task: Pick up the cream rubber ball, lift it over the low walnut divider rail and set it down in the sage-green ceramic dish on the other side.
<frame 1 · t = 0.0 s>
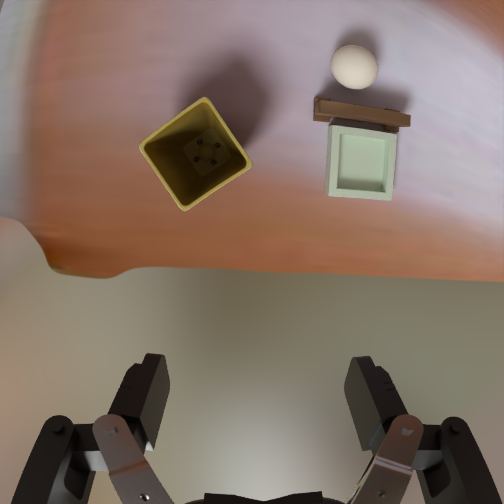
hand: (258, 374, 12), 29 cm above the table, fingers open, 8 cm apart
dish: (358, 162, 37), on the table
ball: (347, 71, 32), on the table
flower pot: (206, 151, 37), on the table
rail: (357, 115, 35), on the table
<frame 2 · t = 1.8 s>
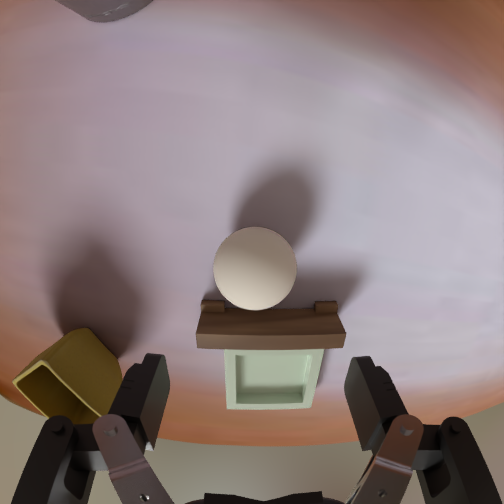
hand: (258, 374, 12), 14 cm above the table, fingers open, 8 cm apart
dish: (270, 367, 29), on the table
ball: (254, 253, 24), on the table
flower pot: (91, 348, 29), on the table
rail: (269, 315, 27), on the table
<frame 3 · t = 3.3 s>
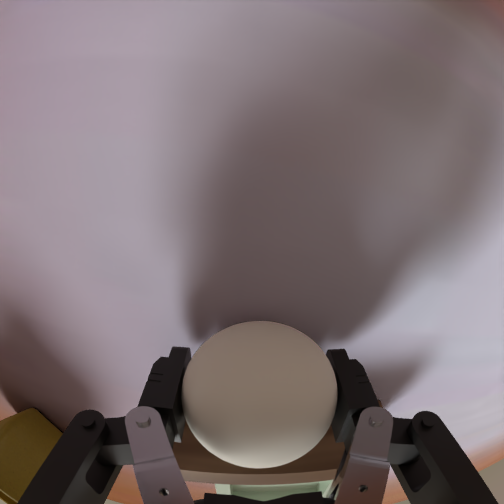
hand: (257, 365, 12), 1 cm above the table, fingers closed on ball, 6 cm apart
dish: (278, 469, 18), on the table
ball: (257, 348, 13), on the table, touching gripper
flower pot: (45, 426, 18), on the table
rail: (279, 423, 16), on the table
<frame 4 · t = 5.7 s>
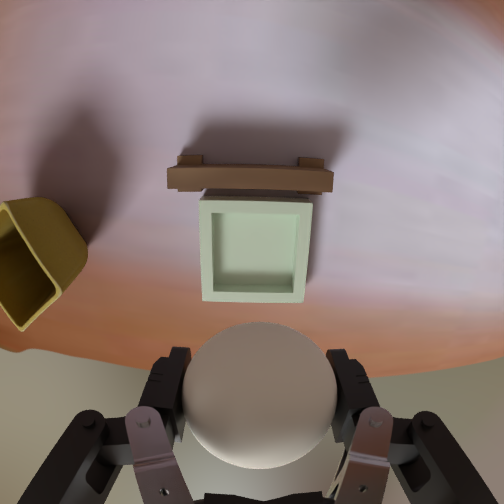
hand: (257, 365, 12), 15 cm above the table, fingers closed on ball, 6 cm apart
dish: (254, 246, 27), on the table
ball: (257, 349, 13), point 14 cm above the table, touching gripper
flower pot: (62, 237, 27), on the table
rail: (250, 172, 24), on the table
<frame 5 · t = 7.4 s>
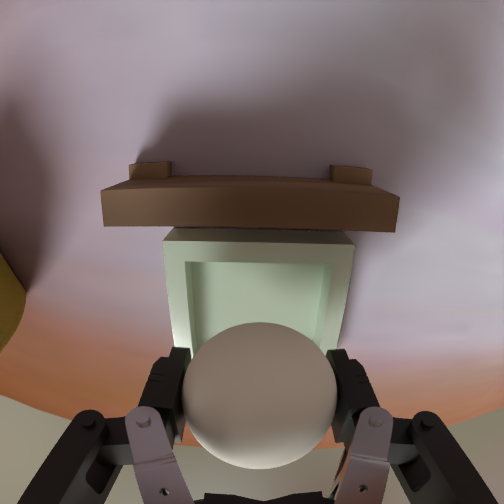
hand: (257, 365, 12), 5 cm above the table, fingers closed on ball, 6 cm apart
dish: (256, 304, 17), on the table
ball: (257, 349, 13), point 4 cm above the table, touching gripper
flower pot: (0, 278, 17), on the table
rail: (250, 190, 15), on the table
when the fingers open (3 cm above the table, at t = 8.4 s): ball drops 2 cm, resting on dish.
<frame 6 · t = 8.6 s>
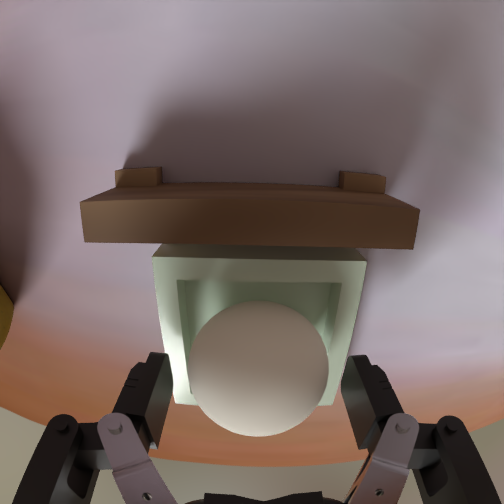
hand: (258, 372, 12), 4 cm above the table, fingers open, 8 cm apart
dish: (256, 323, 16), on the table
ball: (256, 329, 15), point 1 cm above the table, touching dish
rail: (249, 199, 13), on the table
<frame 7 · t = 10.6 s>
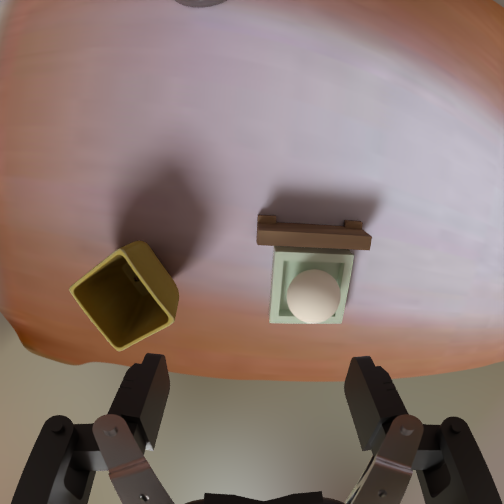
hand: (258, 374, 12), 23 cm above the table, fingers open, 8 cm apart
dish: (308, 282, 36), on the table
ball: (309, 284, 35), point 1 cm above the table, touching dish
flower pot: (145, 270, 36), on the table
rail: (309, 230, 34), on the table
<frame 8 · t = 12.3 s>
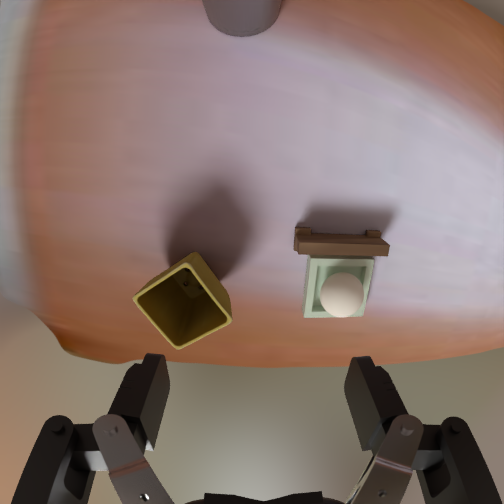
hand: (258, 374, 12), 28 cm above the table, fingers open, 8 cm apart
dish: (335, 282, 42), on the table
ball: (336, 284, 41), point 1 cm above the table, touching dish
flower pot: (194, 276, 41), on the table
rail: (337, 239, 39), on the table
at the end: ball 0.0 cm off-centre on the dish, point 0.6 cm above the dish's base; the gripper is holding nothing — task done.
